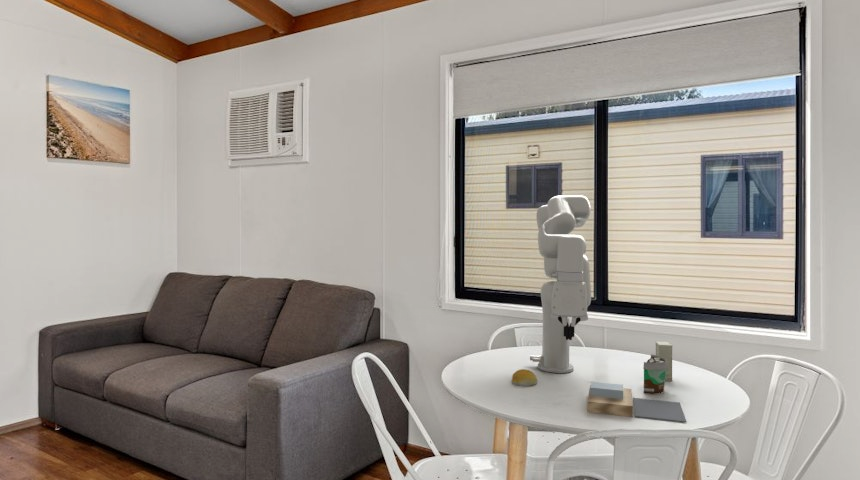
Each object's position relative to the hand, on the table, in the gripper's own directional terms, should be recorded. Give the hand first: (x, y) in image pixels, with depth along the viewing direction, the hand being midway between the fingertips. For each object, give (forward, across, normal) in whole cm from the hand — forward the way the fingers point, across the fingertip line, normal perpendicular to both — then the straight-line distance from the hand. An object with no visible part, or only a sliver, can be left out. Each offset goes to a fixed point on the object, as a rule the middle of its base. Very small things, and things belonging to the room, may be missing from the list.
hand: (568, 338), depth 165 cm
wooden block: (+19, +12, 0) cm, 22 cm away
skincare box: (+19, +29, +34) cm, 49 cm away
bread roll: (+19, -15, +15) cm, 28 cm away
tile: (+16, +11, 0) cm, 19 cm away
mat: (+19, +25, 0) cm, 31 cm away
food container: (+19, +26, +19) cm, 37 cm away
